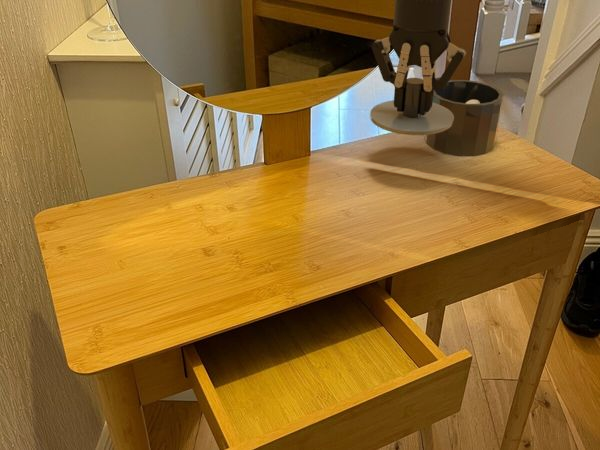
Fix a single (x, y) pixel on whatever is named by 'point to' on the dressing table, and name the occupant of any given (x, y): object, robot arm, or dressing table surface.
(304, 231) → the dressing table surface
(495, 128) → the pot
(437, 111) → the lid
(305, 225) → the dressing table surface
